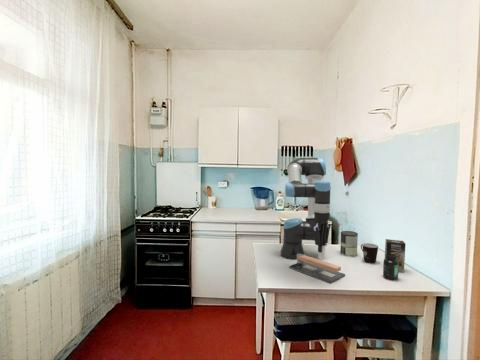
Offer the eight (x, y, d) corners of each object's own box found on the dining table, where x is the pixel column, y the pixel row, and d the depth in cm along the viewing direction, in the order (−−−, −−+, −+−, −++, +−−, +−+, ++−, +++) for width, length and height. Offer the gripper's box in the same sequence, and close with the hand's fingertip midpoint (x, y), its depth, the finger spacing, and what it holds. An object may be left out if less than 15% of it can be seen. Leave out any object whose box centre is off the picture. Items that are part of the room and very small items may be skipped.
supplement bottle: (399, 281, 134) (400, 257, 133) (384, 279, 136) (385, 256, 135) (395, 275, 140) (396, 253, 140) (381, 274, 142) (382, 252, 142)
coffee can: (337, 254, 174) (337, 232, 173) (344, 250, 181) (344, 230, 181) (353, 258, 167) (353, 235, 166) (359, 254, 174) (360, 232, 173)
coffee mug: (379, 264, 156) (380, 248, 155) (363, 263, 157) (364, 247, 157) (373, 258, 167) (374, 242, 166) (359, 257, 169) (359, 241, 168)
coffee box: (385, 270, 147) (386, 241, 146) (383, 266, 153) (384, 238, 152) (404, 273, 144) (405, 243, 143) (402, 268, 150) (403, 240, 149)
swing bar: (294, 259, 153) (294, 254, 153) (299, 257, 156) (299, 253, 156) (336, 273, 134) (336, 268, 134) (340, 270, 137) (340, 266, 136)
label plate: (289, 267, 151) (289, 261, 151) (304, 262, 160) (304, 255, 160) (330, 283, 131) (330, 276, 131) (345, 276, 140) (345, 269, 140)
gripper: (321, 214, 127) (320, 263, 128) (335, 211, 135) (334, 257, 136) (307, 212, 132) (307, 259, 133) (322, 209, 141) (321, 253, 142)
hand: (321, 258), depth 135 cm, fingers closed
